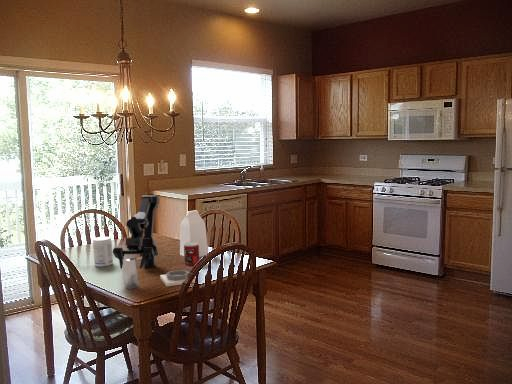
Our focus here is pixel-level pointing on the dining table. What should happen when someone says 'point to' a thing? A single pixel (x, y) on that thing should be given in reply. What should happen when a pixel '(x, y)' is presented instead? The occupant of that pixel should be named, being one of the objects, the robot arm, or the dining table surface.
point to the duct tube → (130, 273)
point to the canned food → (191, 253)
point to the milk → (193, 232)
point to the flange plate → (170, 282)
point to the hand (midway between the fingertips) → (130, 268)
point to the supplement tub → (102, 251)
